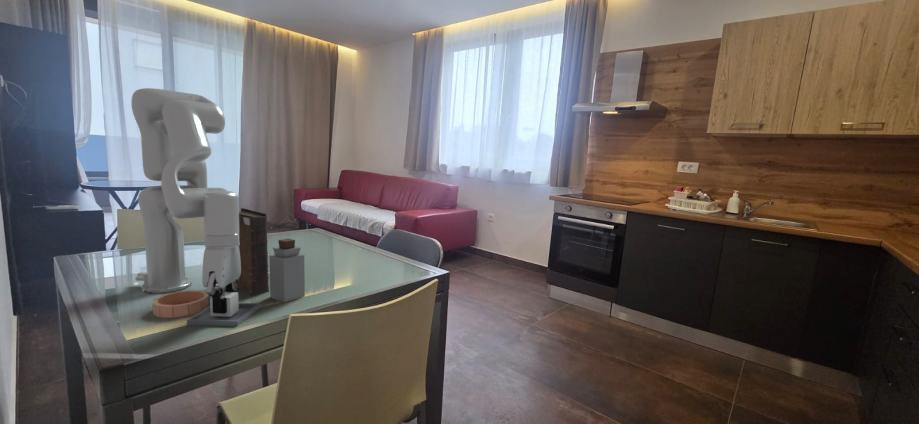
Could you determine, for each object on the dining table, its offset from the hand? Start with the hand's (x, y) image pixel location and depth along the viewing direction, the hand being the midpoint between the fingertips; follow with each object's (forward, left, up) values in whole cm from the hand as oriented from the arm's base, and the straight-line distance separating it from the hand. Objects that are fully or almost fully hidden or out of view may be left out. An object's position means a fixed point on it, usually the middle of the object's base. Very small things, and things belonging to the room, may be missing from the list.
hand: (224, 308), depth 102 cm
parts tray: (0, 0, -3) cm, 3 cm away
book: (-5, +22, -3) cm, 23 cm away
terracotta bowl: (-13, +4, -3) cm, 14 cm away
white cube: (0, 0, -1) cm, 1 cm away
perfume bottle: (+10, +15, -3) cm, 18 cm away
